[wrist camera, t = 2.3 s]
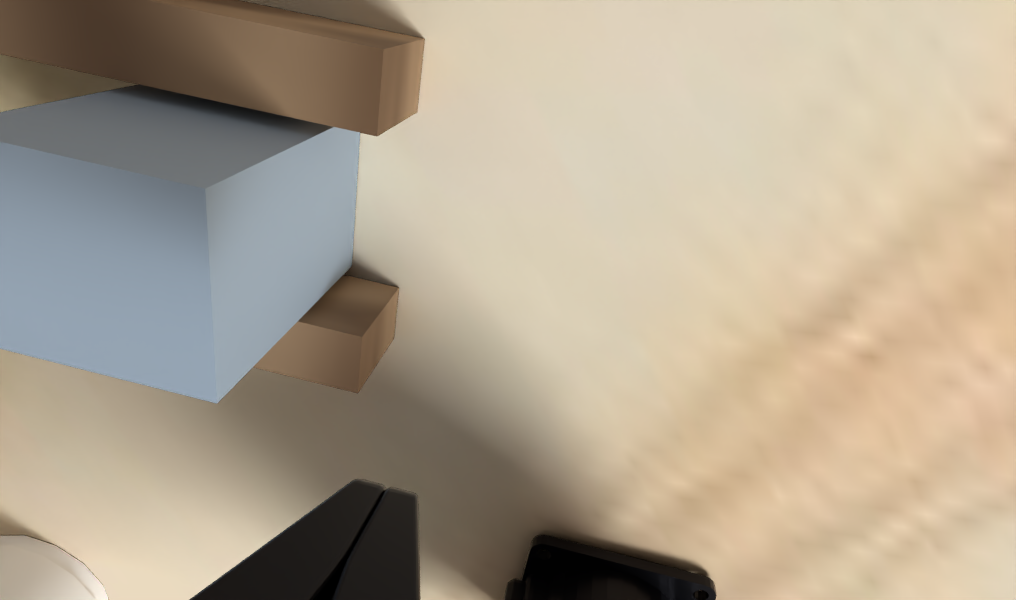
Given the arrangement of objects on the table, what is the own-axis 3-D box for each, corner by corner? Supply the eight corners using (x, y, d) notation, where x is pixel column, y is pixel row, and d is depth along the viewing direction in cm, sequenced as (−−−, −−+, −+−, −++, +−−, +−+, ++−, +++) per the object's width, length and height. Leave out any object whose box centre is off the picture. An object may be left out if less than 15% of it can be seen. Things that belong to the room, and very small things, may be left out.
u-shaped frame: (424, 38, 16) (365, 53, 12) (393, 338, 20) (343, 415, 16) (-274, -106, 17) (-512, -130, 13) (-166, 203, 21) (-327, 247, 17)
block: (361, 113, 17) (205, 188, 10) (351, 265, 19) (217, 403, 13) (184, 75, 17) (-69, 126, 11) (194, 229, 19) (-14, 345, 13)
